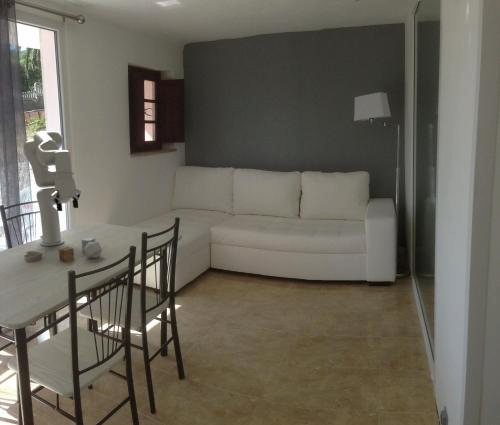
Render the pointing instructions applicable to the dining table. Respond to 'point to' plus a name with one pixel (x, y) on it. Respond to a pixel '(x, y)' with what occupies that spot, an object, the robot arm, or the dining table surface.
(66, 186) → the robot arm
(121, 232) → the dining table surface
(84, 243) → the grey block
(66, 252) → the walnut block
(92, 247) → the die
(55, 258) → the dining table surface
